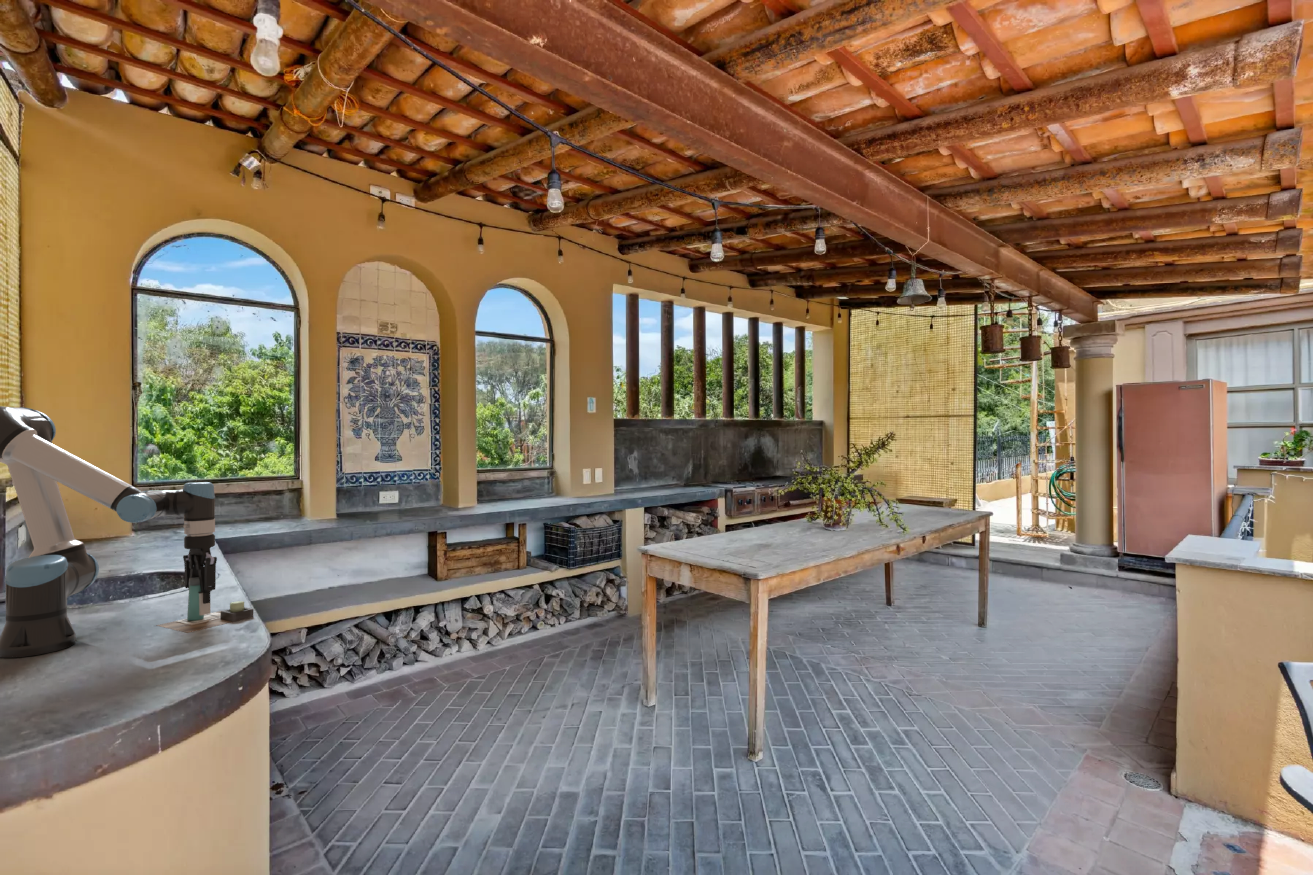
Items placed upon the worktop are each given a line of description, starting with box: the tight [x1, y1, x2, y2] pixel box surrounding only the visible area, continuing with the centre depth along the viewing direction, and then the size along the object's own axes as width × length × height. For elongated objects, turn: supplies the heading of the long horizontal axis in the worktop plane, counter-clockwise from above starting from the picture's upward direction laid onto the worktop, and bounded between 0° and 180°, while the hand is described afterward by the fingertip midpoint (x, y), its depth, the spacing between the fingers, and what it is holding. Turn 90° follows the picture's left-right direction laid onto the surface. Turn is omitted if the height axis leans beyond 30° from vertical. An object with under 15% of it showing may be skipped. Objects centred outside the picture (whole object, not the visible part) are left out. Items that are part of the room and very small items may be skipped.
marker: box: [186, 577, 204, 620], centre depth 192 cm, size 4×4×12 cm
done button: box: [229, 600, 245, 613], centre depth 194 cm, size 4×4×3 cm
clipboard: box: [155, 606, 254, 634], centre depth 191 cm, size 16×18×4 cm
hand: (200, 613), depth 193 cm, fingers closed on marker, 4 cm apart
